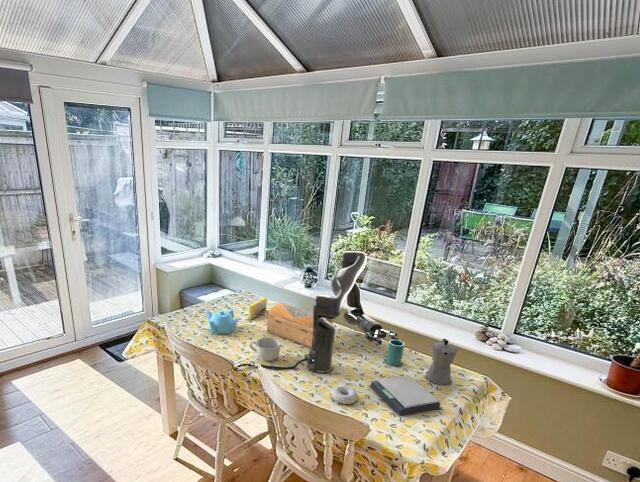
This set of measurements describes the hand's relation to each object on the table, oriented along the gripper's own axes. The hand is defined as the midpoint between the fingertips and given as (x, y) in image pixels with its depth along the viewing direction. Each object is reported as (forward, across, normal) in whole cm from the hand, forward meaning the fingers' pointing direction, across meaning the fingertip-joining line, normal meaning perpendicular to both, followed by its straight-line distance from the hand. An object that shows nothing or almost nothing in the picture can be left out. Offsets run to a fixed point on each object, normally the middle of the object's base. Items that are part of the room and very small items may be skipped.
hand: (389, 341), depth 186 cm
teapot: (-48, -68, +8) cm, 84 cm away
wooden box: (-32, -31, +8) cm, 45 cm away
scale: (+30, -12, +8) cm, 33 cm away
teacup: (-14, -55, +8) cm, 57 cm away
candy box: (-63, -44, +8) cm, 77 cm away
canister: (+5, 0, +8) cm, 9 cm away
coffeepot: (+21, +11, +8) cm, 25 cm away
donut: (+25, -35, +8) cm, 44 cm away
